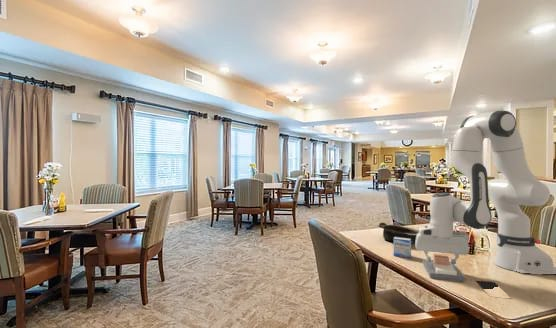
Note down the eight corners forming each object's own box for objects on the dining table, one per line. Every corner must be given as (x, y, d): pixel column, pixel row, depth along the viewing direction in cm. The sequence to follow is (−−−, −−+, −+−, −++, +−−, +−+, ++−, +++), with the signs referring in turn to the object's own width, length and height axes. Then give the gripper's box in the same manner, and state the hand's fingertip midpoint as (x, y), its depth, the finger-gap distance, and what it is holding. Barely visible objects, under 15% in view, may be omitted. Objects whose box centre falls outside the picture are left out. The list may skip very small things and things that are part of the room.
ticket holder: (452, 266, 128) (452, 258, 128) (464, 281, 112) (464, 272, 112) (422, 263, 131) (423, 255, 131) (430, 277, 115) (430, 269, 115)
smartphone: (489, 296, 99) (474, 280, 113) (489, 298, 99) (474, 281, 113) (513, 298, 97) (495, 281, 111) (513, 300, 97) (495, 283, 111)
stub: (446, 263, 125) (446, 254, 125) (449, 267, 120) (449, 258, 120) (433, 262, 126) (433, 253, 126) (435, 266, 122) (435, 257, 122)
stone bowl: (370, 239, 169) (371, 224, 170) (390, 235, 186) (390, 221, 186) (413, 248, 151) (413, 231, 151) (430, 243, 168) (431, 227, 168)
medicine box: (393, 255, 142) (393, 238, 142) (394, 253, 146) (394, 236, 146) (410, 258, 138) (410, 240, 138) (411, 255, 142) (411, 238, 142)
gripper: (466, 230, 123) (466, 262, 123) (414, 227, 129) (414, 257, 129) (471, 234, 117) (471, 267, 117) (416, 230, 123) (416, 262, 123)
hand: (441, 262), depth 123 cm, fingers open, 8 cm apart
